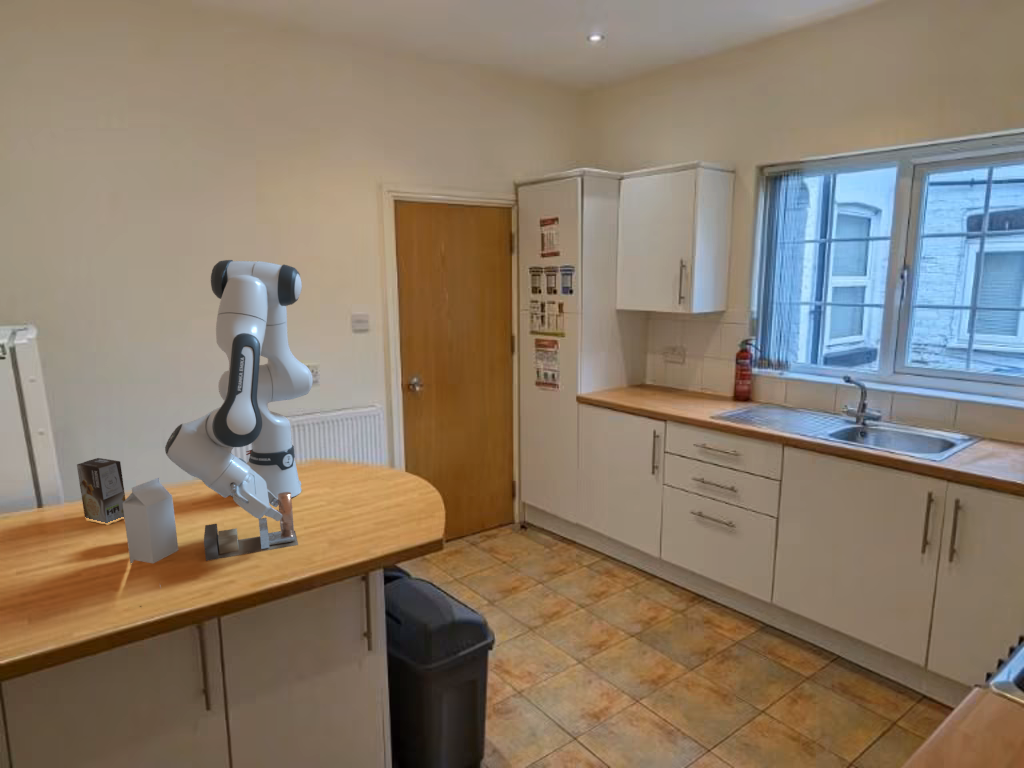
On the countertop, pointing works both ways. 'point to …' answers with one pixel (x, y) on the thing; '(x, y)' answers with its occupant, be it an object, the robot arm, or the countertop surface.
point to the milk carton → (150, 522)
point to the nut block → (228, 541)
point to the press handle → (285, 524)
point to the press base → (243, 544)
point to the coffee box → (101, 489)
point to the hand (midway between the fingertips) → (279, 510)
